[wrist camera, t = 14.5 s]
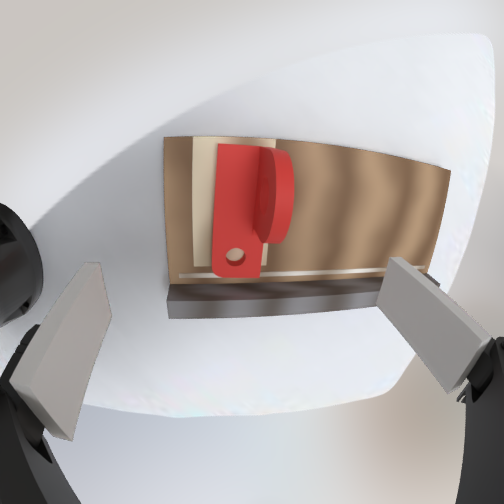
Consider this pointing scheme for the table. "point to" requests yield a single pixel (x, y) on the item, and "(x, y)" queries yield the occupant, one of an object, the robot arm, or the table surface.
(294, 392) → the table surface
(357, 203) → the board
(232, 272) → the bracket
